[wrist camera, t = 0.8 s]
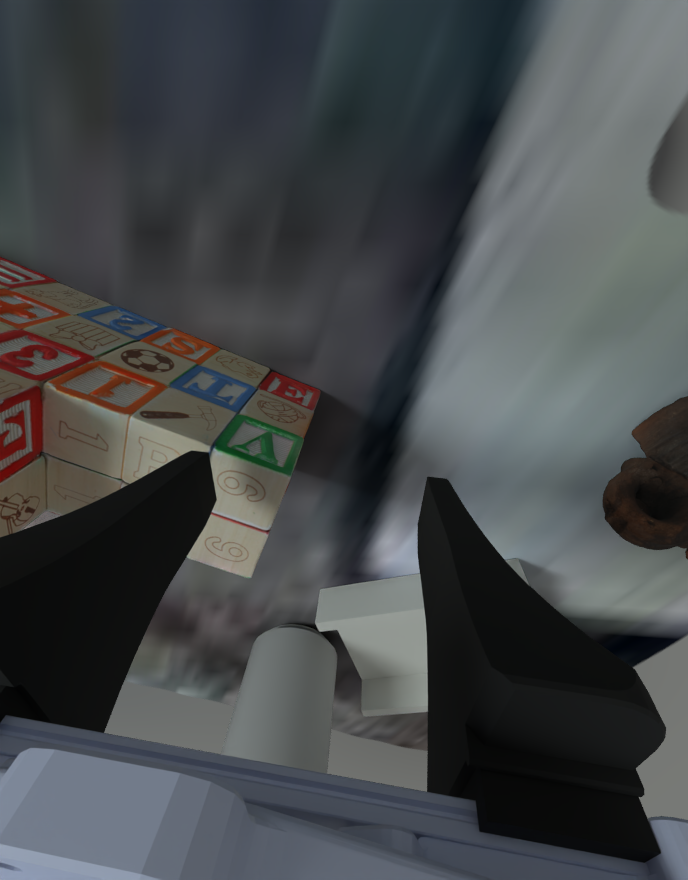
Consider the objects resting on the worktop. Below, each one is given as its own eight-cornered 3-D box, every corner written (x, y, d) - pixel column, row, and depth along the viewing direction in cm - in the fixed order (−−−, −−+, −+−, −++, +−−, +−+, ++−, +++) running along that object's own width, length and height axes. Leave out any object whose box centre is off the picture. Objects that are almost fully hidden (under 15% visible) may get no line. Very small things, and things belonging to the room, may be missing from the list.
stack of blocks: (325, 387, 22) (277, 536, 11) (291, 469, 25) (228, 649, 14) (-65, 228, 19) (-612, 225, 9) (-50, 341, 22) (-446, 443, 12)
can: (276, 674, 36) (236, 852, 26) (240, 625, 33) (178, 807, 23) (350, 663, 35) (338, 850, 24) (319, 611, 31) (292, 800, 21)
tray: (364, 681, 36) (364, 716, 33) (320, 589, 30) (315, 623, 28) (531, 664, 33) (545, 702, 30) (517, 558, 27) (532, 593, 24)
